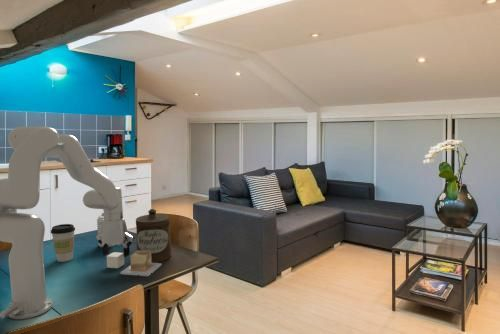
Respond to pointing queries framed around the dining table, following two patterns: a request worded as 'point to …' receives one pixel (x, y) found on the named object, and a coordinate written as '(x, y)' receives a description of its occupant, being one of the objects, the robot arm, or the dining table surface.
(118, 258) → the cream block
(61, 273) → the dining table surface
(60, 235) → the coffee cup
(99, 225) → the supplement can
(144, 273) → the white orange square board
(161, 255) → the wooden container
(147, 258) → the oak block
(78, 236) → the dining table surface
